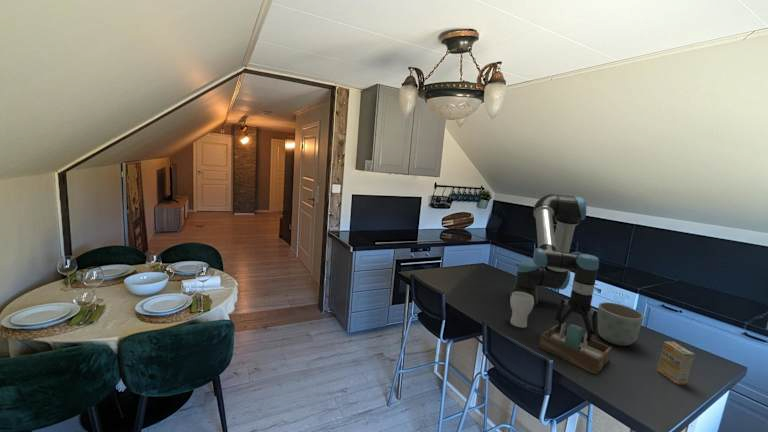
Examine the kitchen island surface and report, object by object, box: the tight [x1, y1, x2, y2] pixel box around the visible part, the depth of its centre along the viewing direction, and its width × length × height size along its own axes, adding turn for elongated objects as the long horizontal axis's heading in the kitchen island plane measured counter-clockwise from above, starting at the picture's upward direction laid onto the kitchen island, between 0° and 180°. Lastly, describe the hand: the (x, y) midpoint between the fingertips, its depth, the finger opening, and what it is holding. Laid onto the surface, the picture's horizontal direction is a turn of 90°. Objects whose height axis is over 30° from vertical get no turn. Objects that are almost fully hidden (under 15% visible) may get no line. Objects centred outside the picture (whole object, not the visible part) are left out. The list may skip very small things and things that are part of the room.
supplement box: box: [656, 341, 695, 385], centre depth 125 cm, size 8×5×13 cm, turn 5°
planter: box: [597, 301, 645, 347], centre depth 151 cm, size 17×17×15 cm
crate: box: [538, 324, 613, 375], centre depth 138 cm, size 16×22×6 cm
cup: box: [509, 292, 535, 329], centre depth 160 cm, size 11×11×15 cm
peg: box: [565, 323, 584, 350], centre depth 137 cm, size 4×4×12 cm
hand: (572, 342), depth 138 cm, fingers open, 8 cm apart
